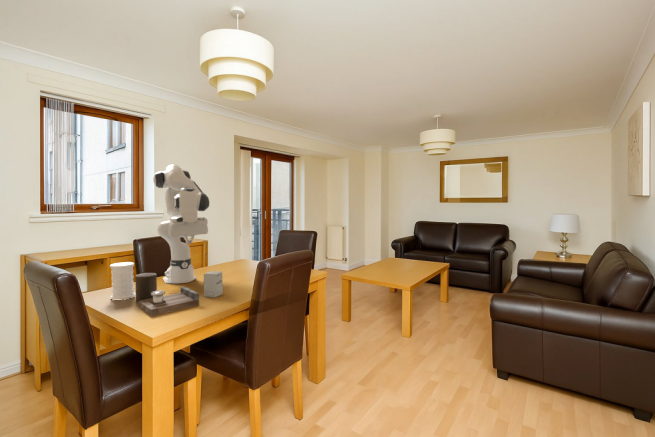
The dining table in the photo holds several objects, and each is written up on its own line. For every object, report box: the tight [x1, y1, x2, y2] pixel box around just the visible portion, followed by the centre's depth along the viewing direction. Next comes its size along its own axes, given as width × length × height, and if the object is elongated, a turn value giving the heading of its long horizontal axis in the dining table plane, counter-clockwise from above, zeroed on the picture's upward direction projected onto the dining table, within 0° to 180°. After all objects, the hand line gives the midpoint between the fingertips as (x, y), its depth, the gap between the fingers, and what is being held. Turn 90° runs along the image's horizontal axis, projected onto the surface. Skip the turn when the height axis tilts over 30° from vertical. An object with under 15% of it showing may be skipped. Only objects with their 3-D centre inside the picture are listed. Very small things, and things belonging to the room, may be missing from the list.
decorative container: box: [109, 261, 136, 300], centre depth 177 cm, size 12×12×18 cm
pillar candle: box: [134, 271, 158, 304], centre depth 172 cm, size 10×10×15 cm
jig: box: [138, 286, 200, 317], centre depth 163 cm, size 18×22×6 cm
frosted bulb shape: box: [151, 289, 166, 305], centre depth 160 cm, size 6×6×8 cm
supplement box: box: [203, 270, 224, 298], centre depth 182 cm, size 7×7×13 cm
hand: (189, 243), depth 180 cm, fingers closed
